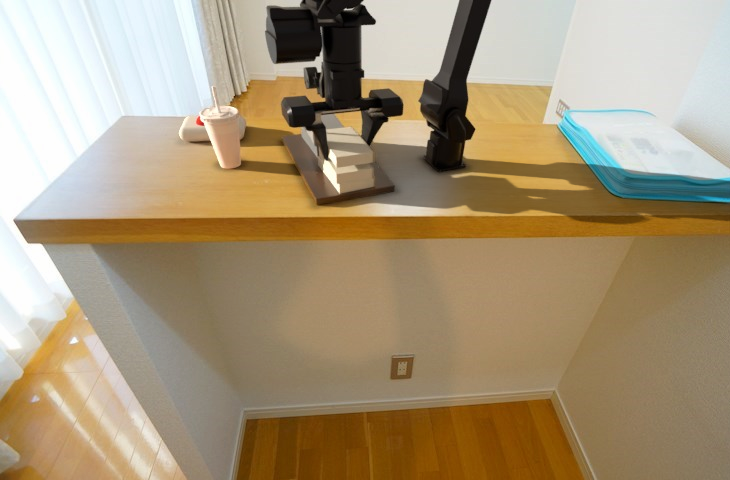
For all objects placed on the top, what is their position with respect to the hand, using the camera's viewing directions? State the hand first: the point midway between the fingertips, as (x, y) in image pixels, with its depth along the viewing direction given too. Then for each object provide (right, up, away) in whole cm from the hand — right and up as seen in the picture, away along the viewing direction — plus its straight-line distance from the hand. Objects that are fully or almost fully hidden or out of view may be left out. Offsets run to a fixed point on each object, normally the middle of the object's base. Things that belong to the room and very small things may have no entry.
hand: (345, 156), depth 71 cm
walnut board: (-3, +1, +8) cm, 8 cm away
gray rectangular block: (-6, +5, +11) cm, 13 cm away
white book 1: (0, +1, -1) cm, 1 cm away
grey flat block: (-5, +7, +9) cm, 13 cm away
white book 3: (0, -3, +2) cm, 4 cm away
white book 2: (0, -1, +1) cm, 2 cm away
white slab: (-29, +9, +16) cm, 34 cm away
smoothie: (-22, 0, +6) cm, 23 cm away
